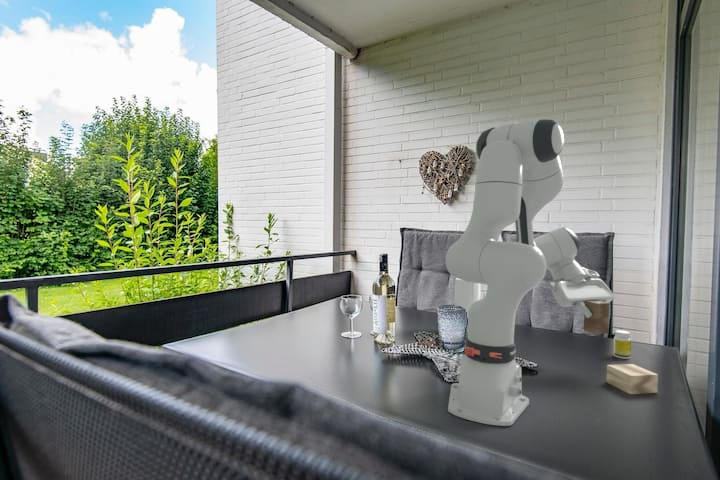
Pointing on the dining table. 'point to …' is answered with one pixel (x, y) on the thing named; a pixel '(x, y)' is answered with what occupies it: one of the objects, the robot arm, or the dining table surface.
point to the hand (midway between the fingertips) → (598, 316)
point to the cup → (466, 293)
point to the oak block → (632, 378)
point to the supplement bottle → (622, 344)
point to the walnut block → (597, 317)
